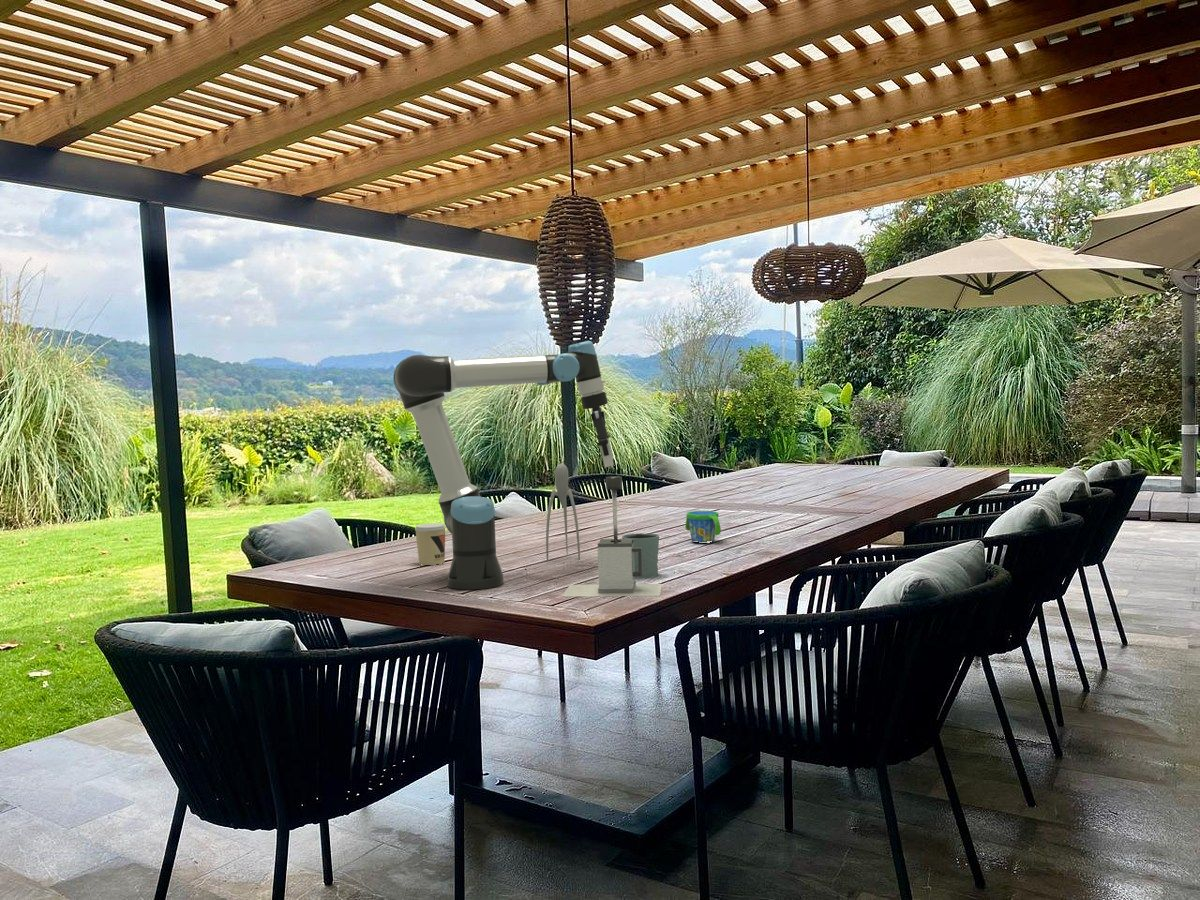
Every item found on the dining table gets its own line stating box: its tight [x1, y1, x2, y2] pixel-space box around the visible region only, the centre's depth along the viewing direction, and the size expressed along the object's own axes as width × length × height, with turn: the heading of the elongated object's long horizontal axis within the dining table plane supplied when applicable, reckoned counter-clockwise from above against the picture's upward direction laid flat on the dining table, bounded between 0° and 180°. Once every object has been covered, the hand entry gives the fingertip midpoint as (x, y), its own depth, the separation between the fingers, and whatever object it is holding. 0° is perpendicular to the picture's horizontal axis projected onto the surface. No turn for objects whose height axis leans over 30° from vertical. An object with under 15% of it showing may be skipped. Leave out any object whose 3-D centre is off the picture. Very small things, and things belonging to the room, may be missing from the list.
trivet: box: [562, 583, 663, 598], centre depth 231 cm, size 24×14×1 cm, turn 84°
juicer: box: [545, 462, 581, 562], centre depth 285 cm, size 10×9×30 cm
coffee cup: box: [414, 522, 447, 566], centre depth 284 cm, size 9×9×12 cm
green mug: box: [621, 533, 660, 579], centre depth 249 cm, size 10×10×12 cm
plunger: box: [605, 475, 623, 542], centre depth 230 cm, size 6×6×18 cm
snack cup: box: [685, 510, 722, 542], centre depth 308 cm, size 16×10×10 cm
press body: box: [597, 538, 642, 593], centre depth 231 cm, size 11×9×12 cm
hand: (609, 463), depth 273 cm, fingers open, 13 cm apart
